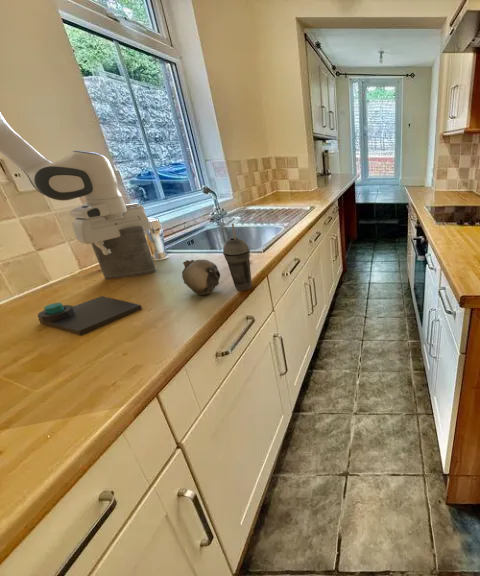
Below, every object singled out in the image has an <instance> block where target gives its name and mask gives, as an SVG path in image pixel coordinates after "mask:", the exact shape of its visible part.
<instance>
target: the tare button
mask: <svg viewBox="0 0 480 576" xmlns="http://www.w3.org/2000/svg"><path fill="white" fill-rule="evenodd" d="M63 305H64V304H63V303H62V302H55V303H54V302H53V303H50V304H47V305H45V306H44V307H43V310H45V311H46V313H47V314H55V313H58V312H61V311H63V310H65V309H64V307H63Z"/></svg>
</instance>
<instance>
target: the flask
mask: <svg viewBox="0 0 480 576" xmlns="http://www.w3.org/2000/svg"><path fill="white" fill-rule="evenodd" d="M115 225H117V223H115ZM119 232H120V237H117V238H113V239H109V240H105V241H103V242H104V244H103V246H104V247H105V248H110V250H111V252H112V254H108V255H104V254H103V252H102V250H101V249H100V248H98V247H97V246H96V245H95V244H94V243H92V244H91V247H92V249H93V251H94V254H95V257H96V260H97V262H98V265H99V268H100V271H101V272H102V274H103V277H104V279H105V280H113V279H114V280H115V279H121V278H130V277H136V276H137V277H138V276H141V275H142V276H143V275H149V274H153V273H156V272H157V269H156V264H155V261H153V259H152V255H151V252H150V249H149V246H148V243H147V240H146V236H145V233H144V230H143V227H142V226H136V227H130V228H126V229H121V230H119Z"/></svg>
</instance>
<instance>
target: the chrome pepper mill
mask: <svg viewBox="0 0 480 576" xmlns="http://www.w3.org/2000/svg"><path fill="white" fill-rule="evenodd" d="M147 218H148V220H149V222H150V225H151V228H150V230H147V231H144V233H145V236H146V240H147V243H148V246H149V249H150V252H151V255H152V259H153V262H155V261H163V260H167V259H169V257H170V255H169V253H168V252H167V250H166V245H165V237H164V235H165V234H164V230H163V228H162V224H161V222H160V219H159V218H157V217H151V218H149V217H147Z"/></svg>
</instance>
